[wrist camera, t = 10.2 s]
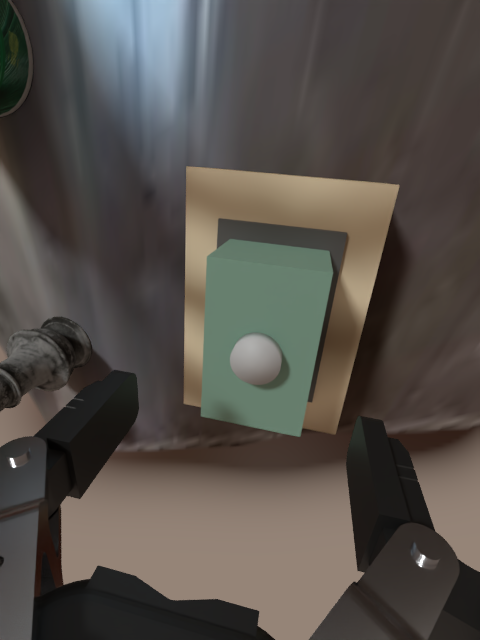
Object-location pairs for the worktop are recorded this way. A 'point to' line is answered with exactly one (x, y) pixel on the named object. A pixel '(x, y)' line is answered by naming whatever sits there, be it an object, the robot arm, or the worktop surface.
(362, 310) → the stand
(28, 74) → the canned tomato
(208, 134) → the worktop surface
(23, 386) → the grey chess piece
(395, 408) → the worktop surface
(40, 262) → the worktop surface
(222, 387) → the housing
